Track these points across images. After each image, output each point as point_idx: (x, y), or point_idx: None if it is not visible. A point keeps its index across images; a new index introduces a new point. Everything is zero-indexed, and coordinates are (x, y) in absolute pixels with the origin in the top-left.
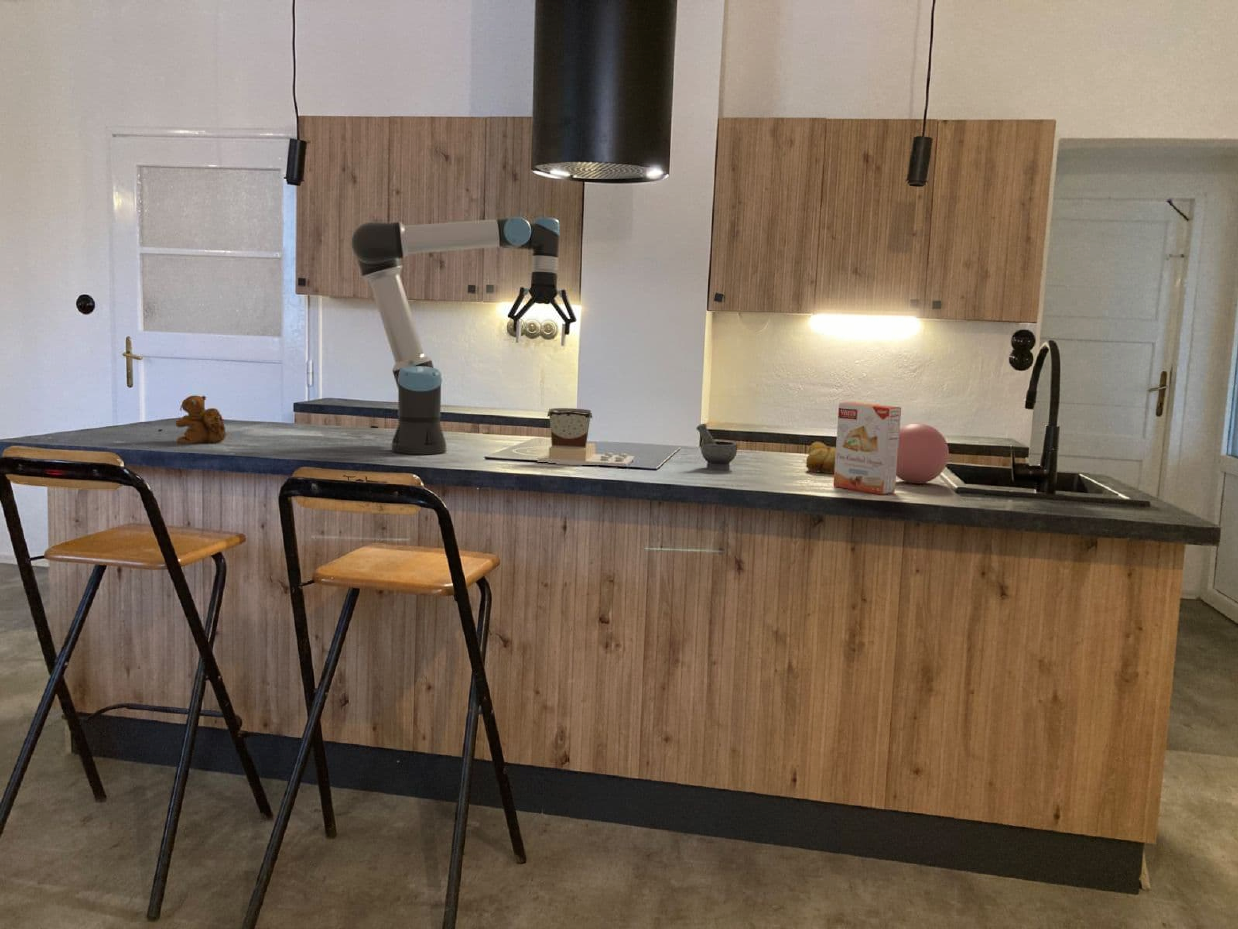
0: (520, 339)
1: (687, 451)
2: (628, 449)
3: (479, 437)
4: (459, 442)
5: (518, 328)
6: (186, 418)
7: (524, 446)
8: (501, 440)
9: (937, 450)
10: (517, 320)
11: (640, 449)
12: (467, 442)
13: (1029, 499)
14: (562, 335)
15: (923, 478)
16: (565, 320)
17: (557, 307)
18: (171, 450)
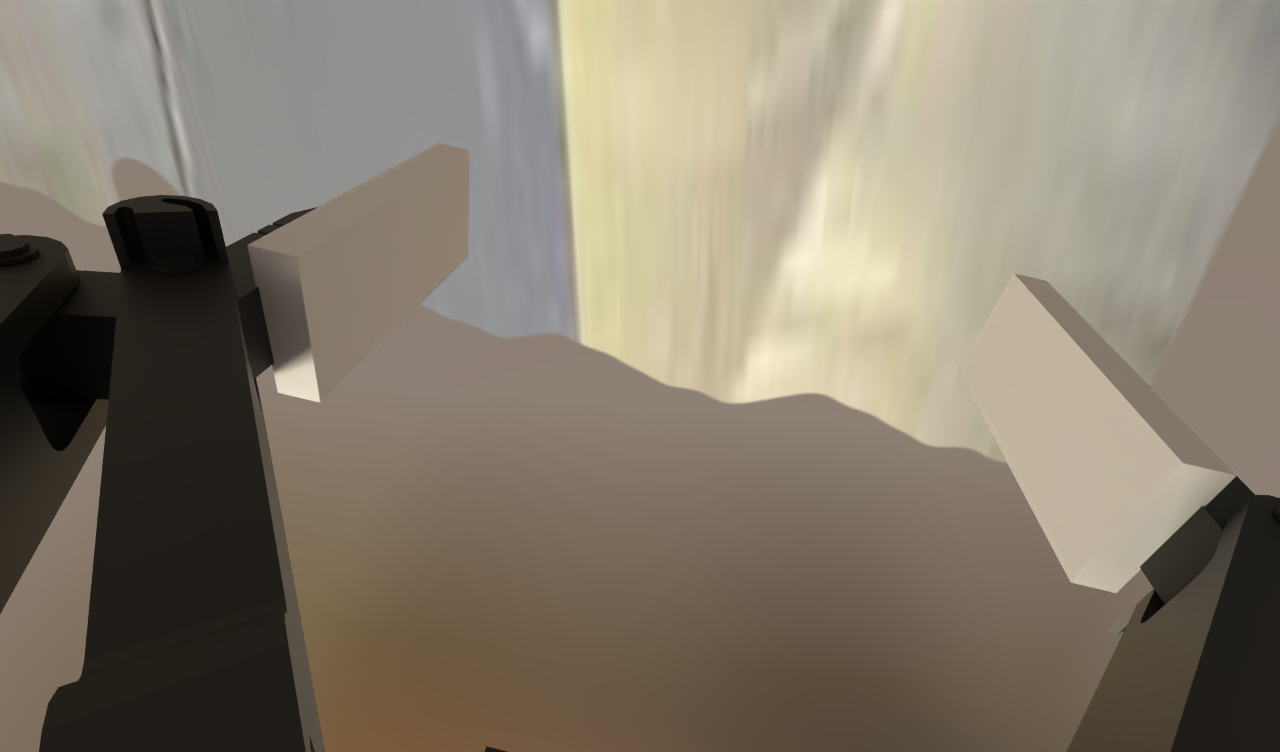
0: (975, 387)
1: (137, 129)
2: (354, 134)
3: (945, 382)
4: (1074, 200)
5: (1115, 376)
6: None
7: (785, 124)
8: (866, 310)
9: None
10: (1208, 514)
11: (312, 147)
12: (1034, 209)
13: None
14: (394, 186)
15: None
16: (190, 276)
17: (157, 531)
18: None
